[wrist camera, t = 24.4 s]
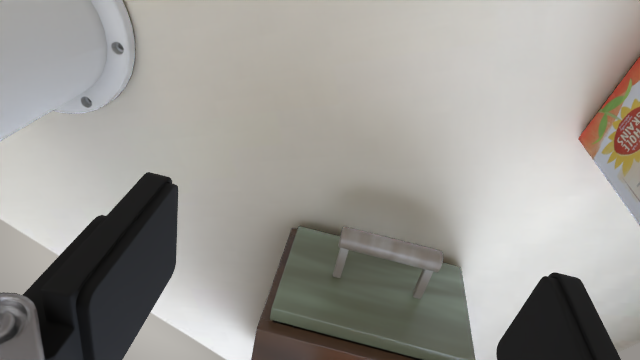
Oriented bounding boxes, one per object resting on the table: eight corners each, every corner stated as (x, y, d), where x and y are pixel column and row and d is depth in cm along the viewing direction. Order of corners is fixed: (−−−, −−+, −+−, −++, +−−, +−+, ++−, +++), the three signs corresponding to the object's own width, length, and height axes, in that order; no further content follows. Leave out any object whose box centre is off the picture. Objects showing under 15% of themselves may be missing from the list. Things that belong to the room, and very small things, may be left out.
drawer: (307, 182, 34) (280, 260, 27) (481, 225, 34) (503, 317, 26) (273, 343, 45) (247, 430, 38) (405, 378, 45) (405, 473, 37)
